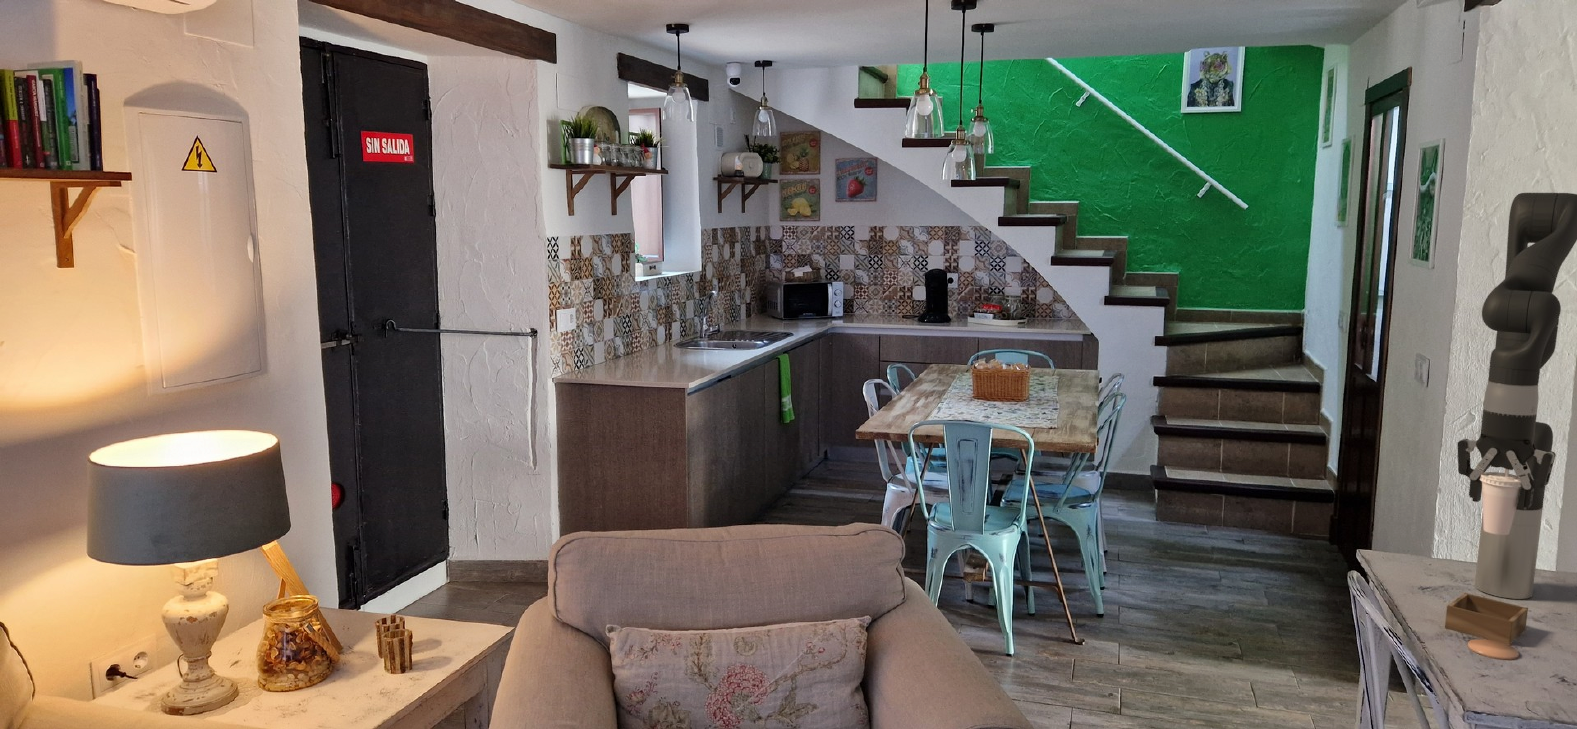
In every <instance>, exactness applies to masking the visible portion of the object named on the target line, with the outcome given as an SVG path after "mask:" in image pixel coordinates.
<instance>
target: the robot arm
mask: <svg viewBox="0 0 1577 729" xmlns="http://www.w3.org/2000/svg"><path fill="white" fill-rule="evenodd" d="M1576 242H1577V193H1571V192H1569V193H1568V192H1520V193H1518V194H1517V195H1515V197H1514V198H1513V200H1512V203H1511V206H1510V209H1509V217H1508V228H1507V246H1506V261H1505V277H1504V278H1503V280H1502V281H1501V282H1500V283H1499V284H1498V285H1496V287H1494V289H1492V290H1491V291H1490V293H1489V294H1488V295H1487V297H1486V299H1485V300H1484V302H1483V304H1482V308H1481V309H1482V310H1481V318H1482V321H1483V323H1484V324H1485V326H1487V327H1488V328H1489V329H1490V330H1492V331H1496V337H1495V345H1494V346H1495V348H1494V349H1492V351H1491V353H1490V359H1489V369H1488V380H1487V384H1486V388H1485V390H1484V391H1485V392H1484V399H1483V401H1482V415H1481V416H1482V417H1481V426H1480V435H1479V438H1478V439H1477V440H1474V439H1473V440H1470V439H1468V438H1464V439H1461V440H1459V441H1458V442H1457V467H1458V469H1457V471H1458V474H1459V475H1461V476H1462V475H1463V476H1466V477H1467V478H1468V479H1469V491H1468V496H1469V498H1472V502H1474V503H1479V502H1480V501H1481V500H1482V481H1481V480H1480V477H1481V474H1482V473H1485V472H1487V470H1488V469H1490V467H1492V468H1502V469H1504V470H1505V469H1509V471H1514V473H1515V475H1516V476H1517V477H1518V478H1519V480H1520V482H1521V484H1522V486H1523V487H1522V489H1521V493H1520V496H1519V500H1518V503H1517V507H1516V511H1515V514H1514V518H1513V522H1512V525H1511V529H1510V533H1509V534H1508V535H1498V534H1492V533H1488V532H1486V531H1484V529H1483V512H1481V513H1482V515H1481V524H1480V525H1481V526H1480V534H1479V542H1478V550H1477V552H1478V554H1477V561H1476V568H1475V577H1474V578H1475V579H1474V587H1475V589H1477V590H1478V591H1480V592H1483V593H1486V594H1489V595H1492V596H1496V597H1499V598H1506V599H1515V600H1517V599H1518V600H1521V599H1522V600H1526V599H1530V598H1532V597H1533V592H1534V583H1535V577H1536V576H1535V575H1536V567H1537V560H1538V550H1539V542H1540V535H1541V526H1542V518H1543V508H1544V500H1545V499H1544V498H1545V491H1546V486H1547V485H1548V484H1549V481H1550V477H1551V474H1552V470H1553V467H1554V462H1555V459H1556V452H1554V451H1552V450H1553V443H1554V433H1553V430H1552V427H1551V426H1550V425H1549V424H1548V423H1545V422H1541V421H1537V417H1538V416H1537V415H1538V408H1539V406H1538V405H1539V399H1540V398H1539V383H1540V382H1539V381H1540V374H1541V373H1540V372H1541V369H1542V368H1543V367H1544V366H1545V365H1546V364H1547V362H1548V361H1549V360H1550V359H1551V358H1552V356H1553V355H1554V353H1555V351H1556V345H1557V337H1558V332H1559V331H1558V329H1559V321H1560V316H1561V311H1562V310H1561V307H1562V306H1561V302H1560V300H1559V299H1558V297H1557V296H1556V294H1554V293H1553V292H1554V288H1555V285H1556V281H1557V278H1558V275H1559V272H1560V269H1561V266H1562V264H1563V263H1564V262H1565V260H1566V258H1567V257H1568V256H1569V254H1570V252H1572V249H1573V248H1574V245H1575V244H1576ZM1528 244H1530V245H1528ZM1475 448H1476V449H1477V450H1478V452H1479V453H1480V458H1481V460H1480V461H1479V462H1478V463H1477V465H1476V467H1475V468H1472V467H1471V453H1472V452H1473V451H1475Z"/></svg>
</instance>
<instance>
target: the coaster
mask: <svg viewBox="0 0 1577 729" xmlns="http://www.w3.org/2000/svg"><path fill="white" fill-rule="evenodd" d="M1467 647H1468V649H1469V650H1470V651H1472V652H1473V653H1475V654H1478V655H1481V656H1483V657H1488V658H1490V659H1491V658H1492V659H1495V660H1496V659H1497V660H1503V661H1504V660H1506V661H1507V660H1508V661H1509V660H1510V661H1511V660H1515V659H1517V658H1519V655H1520V654H1519V653H1520V652H1519V650H1518V649H1516V648H1515V647H1514V646H1512V645H1507V644H1504V643H1501V642H1497V641H1492V640H1488V639H1484V638H1476V639H1474V638H1473V639H1471V640H1469V641H1468V642H1467Z"/></svg>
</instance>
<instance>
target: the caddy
mask: <svg viewBox="0 0 1577 729" xmlns="http://www.w3.org/2000/svg"><path fill="white" fill-rule="evenodd" d="M1528 611H1529V608H1528V607H1525V606H1521V605H1516V604H1513V603H1509V602H1505V601H1499V600H1496V599H1492V598H1487V597H1484V596H1483V597H1482V596H1479V595H1475V594H1471V593H1466V592H1464V593H1463V594H1461V595H1460V596H1459V597H1457V598H1456V599H1455V600H1453V601H1452V602H1450V603H1449V604H1448V605H1447V606H1446V613H1445V622H1444V628H1445V629H1446V630H1447V629H1448V630H1451V631H1455V632H1459V633H1462V634H1466V635H1469V636H1470V635H1471V636H1473V637H1478V638H1480V639H1485V640H1492V641H1497V642H1501V643H1504V644H1507V645H1509V646H1511V644H1512V643H1513V642H1514V641H1516V640H1517V639H1518V638H1519V637H1520V636H1521V635H1522V634H1523V633H1524V632H1525V631H1526V630H1527V628H1526V627H1527V619H1528Z"/></svg>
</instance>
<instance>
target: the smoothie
mask: <svg viewBox="0 0 1577 729" xmlns="http://www.w3.org/2000/svg"><path fill="white" fill-rule="evenodd" d="M1480 480H1481V481H1482V493H1481V499H1482V513H1483V529H1484V531H1486V532H1488V533H1492V534H1498V535H1508V534H1509V533H1510V529H1511V525H1512V522H1513V518H1514V514H1515V511H1516V507H1517V503H1518V500H1519V496H1520V493H1521V489H1522V487H1523V486H1522V484H1521V482H1520V480H1519V478H1518V477H1517V475H1516V474H1511V473H1510V470H1509V469H1505V468H1504V472H1497V471H1494V472H1493V471H1485V473H1482V474H1481V477H1480Z"/></svg>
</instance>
